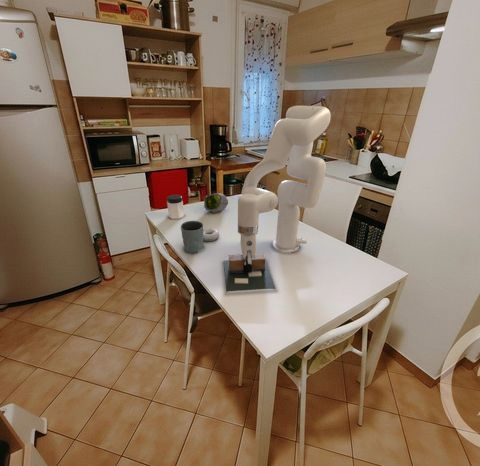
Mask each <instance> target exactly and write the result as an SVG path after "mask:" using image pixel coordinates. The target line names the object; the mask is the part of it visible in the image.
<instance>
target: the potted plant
mask: <svg viewBox="0 0 480 466" xmlns="http://www.w3.org/2000/svg"><path fill="white" fill-rule="evenodd" d="M228 205H229V200H228V197H227V196H225V194H223V193H221V192H219V193H217V192H216V193H215V192H214V193H211V194H207V195H206V196H205V197H204V201H203V208H204V209H205V210H206V211H209V212H212V213H213V214H217V213H219V212H223V211H224V210H225V209H226V208H227V206H228Z"/></svg>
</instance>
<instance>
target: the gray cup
mask: <svg viewBox="0 0 480 466" xmlns="http://www.w3.org/2000/svg"><path fill="white" fill-rule="evenodd" d="M203 230H204V223H203V222H202V221H199V220H187V221H185V222H183V223H181V225H180V231H181V238H182V243H183V250H184V251H185V252H186V253H188V254H196V253H198V252H199V250H200V251H201V249H203V247H204V240H203Z"/></svg>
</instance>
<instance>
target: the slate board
mask: <svg viewBox="0 0 480 466" xmlns="http://www.w3.org/2000/svg"><path fill="white" fill-rule="evenodd" d="M223 269H224V282H225V290H226V292H243V291H256V290H258V291H259V290H272V289H276V286H275V283H274V279H273V277H272V274H271V271H270V269H269V266H268V262H267V259H266V260H265V272H261V274H262V276H257V277H249V275H248V273H231V274H230V273H229V259H228V260H227V259H226V260H225V259H224V260H223ZM235 278H241V279H248V284H235Z"/></svg>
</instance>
